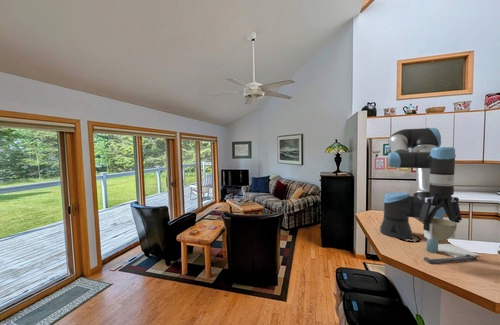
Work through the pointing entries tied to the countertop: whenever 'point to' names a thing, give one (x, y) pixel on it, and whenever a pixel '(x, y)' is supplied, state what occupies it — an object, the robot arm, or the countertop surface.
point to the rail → (450, 259)
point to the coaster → (454, 250)
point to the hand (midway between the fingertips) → (439, 237)
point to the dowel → (432, 244)
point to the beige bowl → (442, 228)
